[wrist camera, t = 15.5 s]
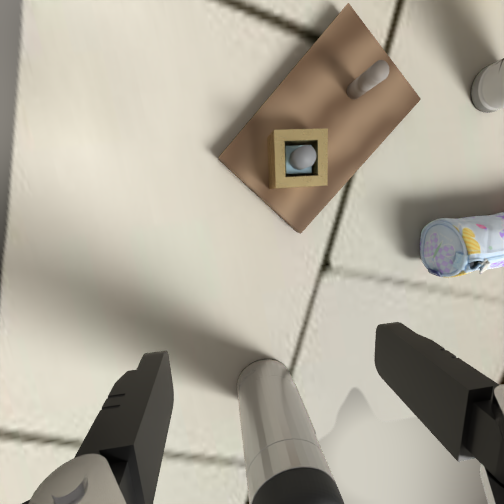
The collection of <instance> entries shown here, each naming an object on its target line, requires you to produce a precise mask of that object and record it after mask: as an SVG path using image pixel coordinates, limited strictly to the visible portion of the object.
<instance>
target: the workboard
mask: <svg viewBox="0 0 504 504" xmlns="http://www.w3.org/2000/svg"><path fill="white" fill-rule="evenodd" d="M419 101H420V97H419V96H418V95H417V93H416V92H415V91H414V89H413V88H412V87H411V85H410V84H409V83H408V81H407V80H406V79H405V77H404V76H403V75H402V73H401V72H400V71H399V69H398V68H397V67H396V65H395V64H394V63H393V61H392V60H391V59H390V57H389V56H388V55H387V54H386V52H385V51H384V50H383V48H382V47H381V46H380V44H379V43H378V42H377V40H376V39H375V38H374V36H373V35H372V34H371V32H370V31H369V30H368V28H367V27H366V26H365V24H364V23H363V22H362V20H361V19H360V18H359V16H358V15H357V14H356V12H355V11H354V10H353V8H352V7H351V6H350V4H349V3H348V4H347V5H346V6H345V7H344V9H343V10H342V11H341V12H340V13H339V15H338V16H337V17H336V18H335V19H334V21H333V22H332V23H331V24H330V25H329V26H328V28H327V29H326V30H325V31H324V32H323V34H322V35H321V36H320V37H319V38H318V40H317V41H316V42H315V43H314V44H313V46H312V47H311V48H310V49H309V50H308V51H307V53H306V54H305V55H304V56H303V57H302V59H301V60H300V61H299V62H298V63H297V65H296V66H295V67H294V68H293V69H292V71H291V72H290V73H289V74H288V75H287V76H286V78H285V79H284V80H283V81H282V82H281V84H280V85H279V86H278V87H277V88H276V90H275V91H274V92H273V93H272V94H271V96H270V97H269V98H268V99H267V100H266V101H265V103H264V104H263V105H262V106H261V107H260V109H259V110H258V111H257V112H256V113H255V115H254V116H253V117H252V118H251V119H250V121H249V122H248V123H247V124H246V125H245V126H244V128H243V129H242V130H241V131H240V132H239V134H238V135H237V136H236V137H235V138H234V140H233V141H232V142H231V143H230V144H229V146H228V147H227V148H226V149H225V150H224V151H223V153H222V154H221V155H220V156H219V160H220V161H221V162H222V163H223V164H224V165H225V166H226V167H227V168H228V169H229V170H231V171H232V172H233V173H234V174H235V175H236V176H237V177H238V178H239V179H240V180H241V181H242V182H243V183H245V184H246V185H247V186H248V187H249V188H250V189H251V190H252V191H253V192H254V193H255V194H256V195H257V196H259V197H260V198H261V199H262V200H263V201H264V202H265V203H266V204H267V205H268V206H269V207H270V208H271V209H272V210H274V211H275V212H276V213H277V214H278V215H279V216H280V217H281V218H282V219H283V220H284V221H285V222H286V223H288V224H289V225H290V226H291V227H292V228H293V229H294V230H295V231H296V232H298V233H302V232H303V230H304V229H305V228H306V227H307V226H308V225H309V224H310V223H311V221H312V220H313V219H314V218H315V217H316V216H317V215H318V214H319V212H320V211H321V210H322V209H323V208H324V207H325V206H326V205H327V204H328V202H329V201H330V200H331V199H332V198H333V197H334V196H335V195H336V193H337V192H338V191H339V190H340V189H341V188H342V187H343V186H344V184H345V183H346V182H347V181H348V180H349V179H350V178H351V177H352V176H353V174H354V173H355V172H356V171H357V170H358V169H359V168H360V167H361V165H362V164H363V163H364V162H365V161H366V160H367V159H368V158H369V157H370V155H371V154H372V153H373V152H374V151H375V150H376V149H377V148H378V146H379V145H380V144H381V143H382V142H383V141H384V140H385V139H386V137H387V136H388V135H389V134H390V133H391V132H392V131H393V130H394V129H395V127H396V126H397V125H398V124H399V123H400V122H401V121H402V120H403V118H404V117H405V116H406V115H407V114H408V113H409V112H410V111H411V109H412V108H413V107H414V106H415V105H416V104H417V103H418V102H419ZM325 128H328V185H326V186H316V187H300V188H282V189H269V172H268V147H267V137H268V136H269V135H270V134H271V133H272V132H273V130H288V129H325ZM299 176H307V174H305V175H289V176H286V177H299Z"/></svg>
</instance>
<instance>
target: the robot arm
mask: <svg viewBox="0 0 504 504" xmlns="http://www.w3.org/2000/svg"><path fill="white" fill-rule="evenodd" d="M375 366H376V369H377V371H378V373H379V375H380V376H381V378H382V379H383V380H384V381H385V382H386V383H387V384H388V385H389V387H390V388H391V389H392V390H393V391H394V392H395V393H396V394H397V395H398V396H399V397H400V399H401V400H402V401H403V402H404V403H405V404H406V405H407V406H408V407H409V408H410V410H411V411H412V412H413V413H414V414H415V415H416V416H417V417H418V418H419V419H420V420H421V421H422V423H423V424H424V425H425V426H426V427H427V428H428V429H429V430H430V431H431V433H432V434H433V435H434V436H435V437H436V438H437V439H438V440H439V441H440V442H441V443H442V445H443V446H444V447H445V448H446V449H447V450H448V451H449V452H450V453H451V454H452V456H453V457H454V458H455V459H456V460H457V461H458V462H459V461H464V460H468V459H474V458H476V459H477V460H478V461H479V462H480V463H481V468H480V475H481V480H482V483H483V487H484V490H485V494H486V498H487V501H488V504H504V385H499V384H497V383H496V382H494V381H493V380H491V379H490V378H488V377H486V376H485V375H483V374H482V373H480V372H479V371H477V370H476V369H474V368H473V367H471V366H470V365H468V364H467V363H465V362H464V361H462V360H461V359H459V358H456V356H455V355H453V354H452V353H450V352H449V351H447V350H446V351H445V349H444V348H443V347H441V346H440V345H438V344H437V343H435V342H434V341H432V340H430V339H428V338H426V337H423V336H421V335H419V334H416V333H415V332H413V331H412V330H411V329H409V328H408V327H406V326H405V325H403V324H402V323H400V322H395V323H387V324H380V325H378V326H377V329H376V341H375ZM237 392H238V401H239V412H240V421H241V430H242V440H243V449H244V458H245V467H246V477H247V485H248V494H249V504H344V502H343V499H342V497H341V494H340V492H339V490H338V487H337V485H336V483H335V480H334V478H333V475H332V473H331V471H330V468H329V466H328V463H327V461H326V459H325V456H324V454H323V452H322V450H321V447H320V444H319V442H318V440H317V437H316V432H315V429H314V427H313V425H312V422H311V420H310V417H309V415H308V413H307V410H306V408H305V406H304V403H303V401H302V398H301V396H300V394H299V391H298V389H297V387H296V384H295V383H294V382H293V379H292V377H291V374H290V372H289V370H288V369H287V368H286V366H285V365H283V364H282V363H280V362H278V361H275V360H271V359H264V360H259V361H256V362H254V363H252V364H250V365H249V366H247V367H246V368H245V369H244V370H243V372H242V373H241V374H240V376H239V379H238V382H237ZM173 401H174V391H173V383H172V376H171V369H170V362H169V355H168V352H167V351H161V352H153V353H145V354H144V355H143V357H142V359H141V361H140V363H139V365H138V368H137V370H131V371H127V372H126V373H125V374H124V375H123V376H122V377H121V378H120V379H119V380H118V381H117V382H116V383H115V384H114V386H113V388H112V390H111V392H110V393H109V395H108V399H106V401H105V403H104V404H103V406H102V410H100V412H99V414H98V415H97V417H96V419H95V421H94V423H93V425H92V426H91V428H90V430H89V432H88V434H87V436H86V437H85V439H84V441H83V443H82V445H81V447H80V448H79V450H78V452H77V454H76V456H75V458H74V459H72V460H70V461H68V462H66V463H64V464H63V465H61V466H60V467H58V468H57V469H56V470H55V471H53V472H52V473H51V474H50V475H49V476H48V477H47V478H46V479H45V480H44V481H43V482H42V483H41V484H40V485H39V487H38V488H37V490H36V491H35V492H34V494H33V496H32V497H31V499H30V500H28V501H26V502H24V503H22V504H153V500H154V496H155V491H156V486H157V481H158V476H159V472H160V467H161V462H162V457H163V452H164V448H165V443H166V438H167V433H168V428H169V424H170V419H171V414H172V409H173Z"/></svg>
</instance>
